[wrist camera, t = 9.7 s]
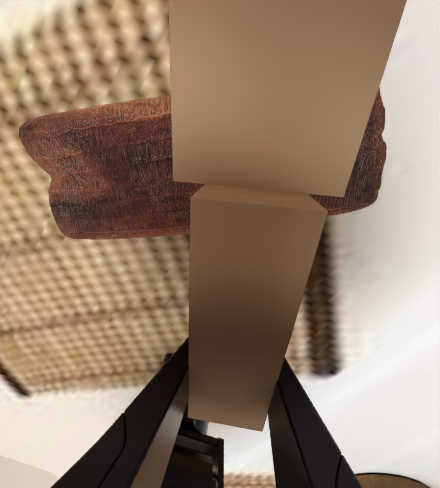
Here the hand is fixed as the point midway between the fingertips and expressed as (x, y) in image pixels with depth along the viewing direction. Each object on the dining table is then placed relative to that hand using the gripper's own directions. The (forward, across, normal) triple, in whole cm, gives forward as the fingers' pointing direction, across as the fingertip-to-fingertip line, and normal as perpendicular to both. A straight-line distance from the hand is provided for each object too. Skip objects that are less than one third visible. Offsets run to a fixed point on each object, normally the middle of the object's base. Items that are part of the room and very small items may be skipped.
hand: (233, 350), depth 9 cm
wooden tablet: (+11, +4, -6) cm, 13 cm away
